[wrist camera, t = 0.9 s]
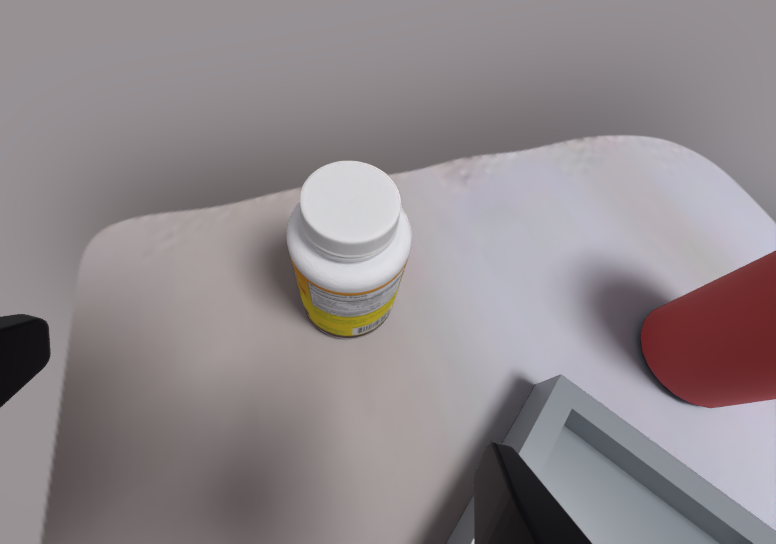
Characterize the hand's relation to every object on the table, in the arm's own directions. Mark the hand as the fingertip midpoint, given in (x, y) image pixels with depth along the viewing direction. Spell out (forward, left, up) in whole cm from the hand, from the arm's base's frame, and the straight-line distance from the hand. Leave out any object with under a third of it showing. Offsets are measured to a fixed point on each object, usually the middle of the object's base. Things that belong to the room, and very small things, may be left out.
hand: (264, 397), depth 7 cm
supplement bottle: (+7, +4, -14) cm, 16 cm away
